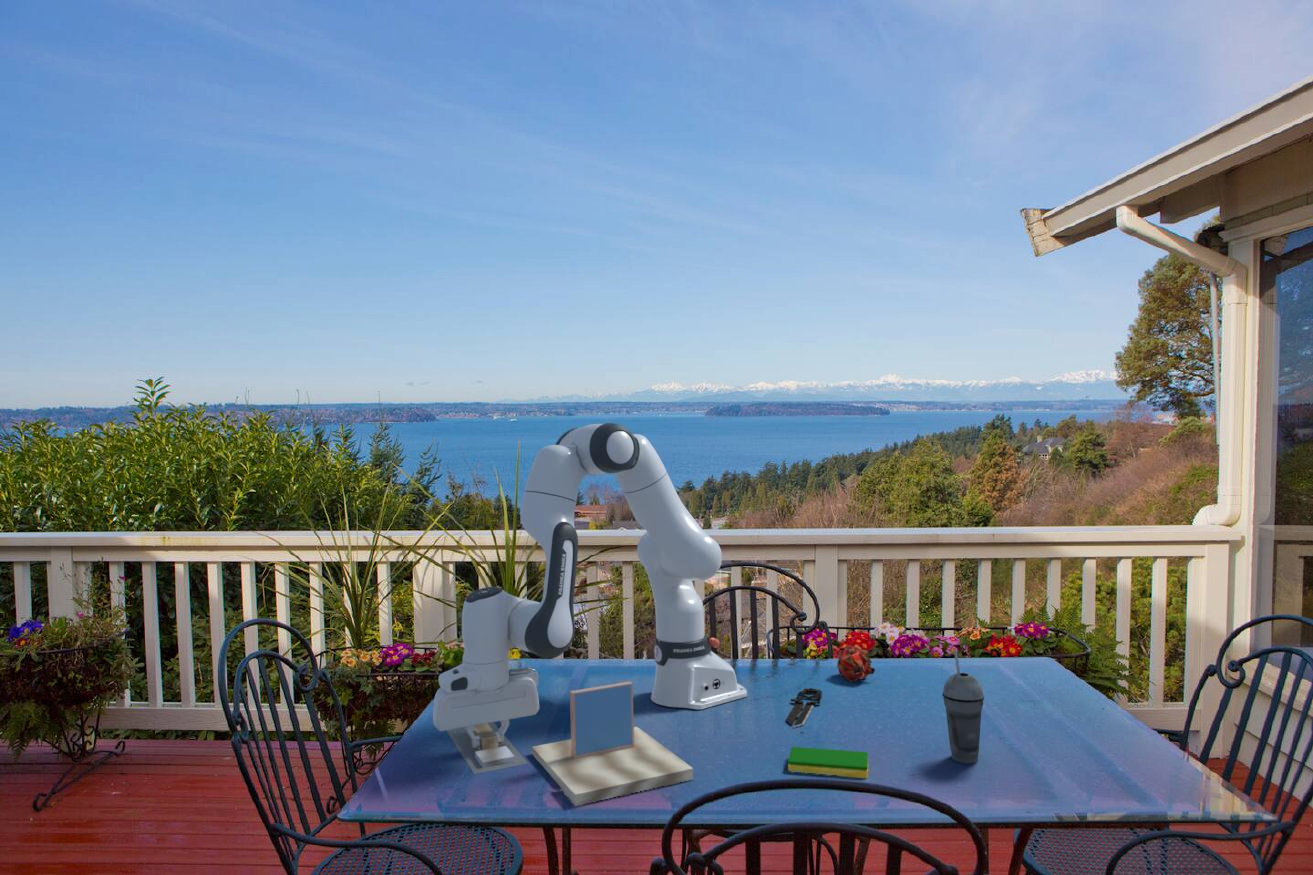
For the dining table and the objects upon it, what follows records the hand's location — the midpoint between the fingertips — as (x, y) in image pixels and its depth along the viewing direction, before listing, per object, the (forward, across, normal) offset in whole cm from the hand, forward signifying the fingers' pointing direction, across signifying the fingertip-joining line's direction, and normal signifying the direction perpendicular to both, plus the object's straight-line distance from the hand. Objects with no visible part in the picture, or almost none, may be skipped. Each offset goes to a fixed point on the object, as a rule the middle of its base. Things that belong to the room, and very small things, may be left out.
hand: (487, 744), depth 158 cm
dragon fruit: (+2, -92, -3) cm, 92 cm away
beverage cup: (+2, -77, +46) cm, 90 cm away
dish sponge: (+2, -53, +37) cm, 65 cm away
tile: (0, -18, +15) cm, 23 cm away
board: (+2, -18, +18) cm, 26 cm away
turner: (+1, 0, -2) cm, 2 cm away
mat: (+2, 0, -3) cm, 3 cm away
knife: (+2, -68, +9) cm, 69 cm away
